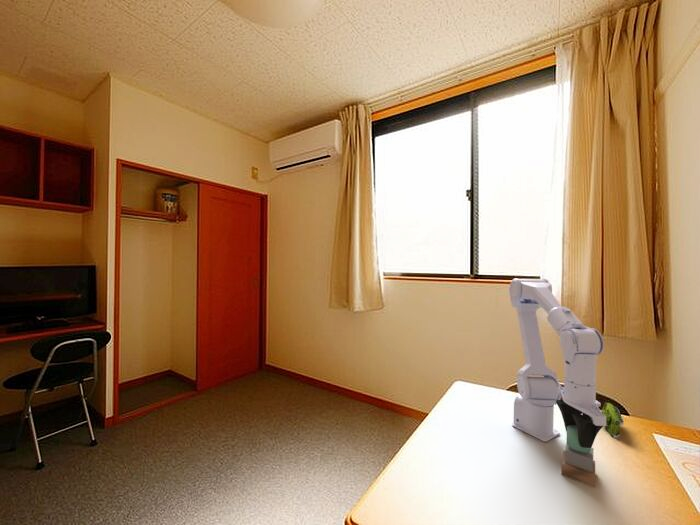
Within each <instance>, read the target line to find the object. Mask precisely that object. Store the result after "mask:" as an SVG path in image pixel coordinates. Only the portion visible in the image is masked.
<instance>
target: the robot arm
mask: <svg viewBox="0 0 700 525" xmlns="http://www.w3.org/2000/svg"><path fill="white" fill-rule="evenodd" d="M508 290H509V291H508V292H509V297H510V303H511V306H512V307H513V308H514V309H516V312H517V318H518V323H519V324H518V325H519V331H520V336H521V337H520V338H521V342H522V349H523V353H524V354H523V355H524V361H525V365H523V367H521V368H520V369H519V370H518V371H517V373H516V376H517V377H516V378H517V381H516V387H517V391H518V394H517V395H516V397H515V398H514V402H513V423H511V425H512V427H514V428H516V429H518V430H520V431H522V432H525V433H527V435H530V436H532V437H534V438H535V439H538V440H540V441H542V442H544V443H545V442H549V441H550V440H552V439H554V438H555V437H558V436H559V435H560V434H561V432H560V431H558V430H556V429H554V413H555V412H554V410H555V409H554V408H555V407H554V405H555V406H556V405H557V406H558V409H559V410H560V413H561V416H562V420H563V423H564V428H565V433H567V426H569V425H575V426H577V431H578V441H579V445H580V446H581V447H583V448H593V445H594V442H595V440H596V438H597V435H598V434H599V432H600V431H601V430H602V428H604V427H605V426H606V417H605V416H604V415H603V414H602V412H601V409H600V408H599V407H601V406H602V405H601V404H602V403H601V402H600V401H598V400H597V399H596V396H597V394H596V390H597V388H596V385H597V356H598V355H601V354H602V353H603V351H604V348H605V343H604V339H603V336H602V335H601V333H600V332H599V330H598V329H597V328H593V327H592V328H591V327H589V326H586V325H584V323H583V322H582V321H581V320H580V319H579V318H578V317H577V316H576V315H575V313H574V312H573V311H572V310H571V309H570V307H566V306H561V304H560V302H559V301H558V300H557V299H556V297H555V296H554V294H553V286H552V283H551V282H550V281H549V280H548V279H546V278H516V277H515V278H513V279H512V280H511V281H510V284H509V288H508ZM541 308H542V309H543V310H544V311H545V312H546V313H547V317H546V318H547V321H548V323H549V325H550V326H551V327H552V328H553V330H554V331H555V333H556V334H557V335H558V336H559V338H558V340H559V345H560V348H561V356H562V359H563V360H564V379H563V380H564V381H563V382H564V384H563V386H562V385H561V383H560V381H559V379H558V378H559V377H558V375H557V372H555V371H554V370H553V369H552V368H550V367H549V366H548V365H547V364H546V359H545V354H544V349H543V343H542V338H541V332H540V327H539V322H538V318H537V310H538V309H541Z"/></svg>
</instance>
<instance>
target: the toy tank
mask: <svg viewBox="0 0 700 525" xmlns="http://www.w3.org/2000/svg"><path fill="white" fill-rule="evenodd" d="M600 411H601V412H602V414H603V415H604V416H605V417H606V426H604V428H606V429H607V432H608V434H609V435H610V436H611V437H612V438H614V439H617V438H620V435H621V432H620V431H619V429H620V427H621V426H623V425H624V424H625V421H624V418H623V416H622V415H621V414H622V413H621V412H620V410H619V409H618V408H617V407H616V406H615V405H614V404H612V403H610V402H606V401H605V402H604V404H603V407H602V408H601V409H600Z"/></svg>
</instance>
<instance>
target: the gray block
mask: <svg viewBox="0 0 700 525" xmlns="http://www.w3.org/2000/svg"><path fill="white" fill-rule="evenodd" d="M564 451H565V463H567V464H570V465H572V466H575V467H578V468H581V469H584V470H586V471H589V472H592V473H593V460H594V448H593V447H592V448H591V451H590V452H580V451H577V450H574V449H572V448H571V447H569V446H568V445H567V442H566V444H565V449H564Z"/></svg>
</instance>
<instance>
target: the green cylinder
mask: <svg viewBox="0 0 700 525" xmlns="http://www.w3.org/2000/svg"><path fill="white" fill-rule="evenodd" d="M566 443H567V445H568V446H569V447H571V448H572V449H574V450H577V451H580V452H590V451H591V448H583V447H581V446H580V445H579V441H578V431H577V426H575V425H569V426H567V432H566Z"/></svg>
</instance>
